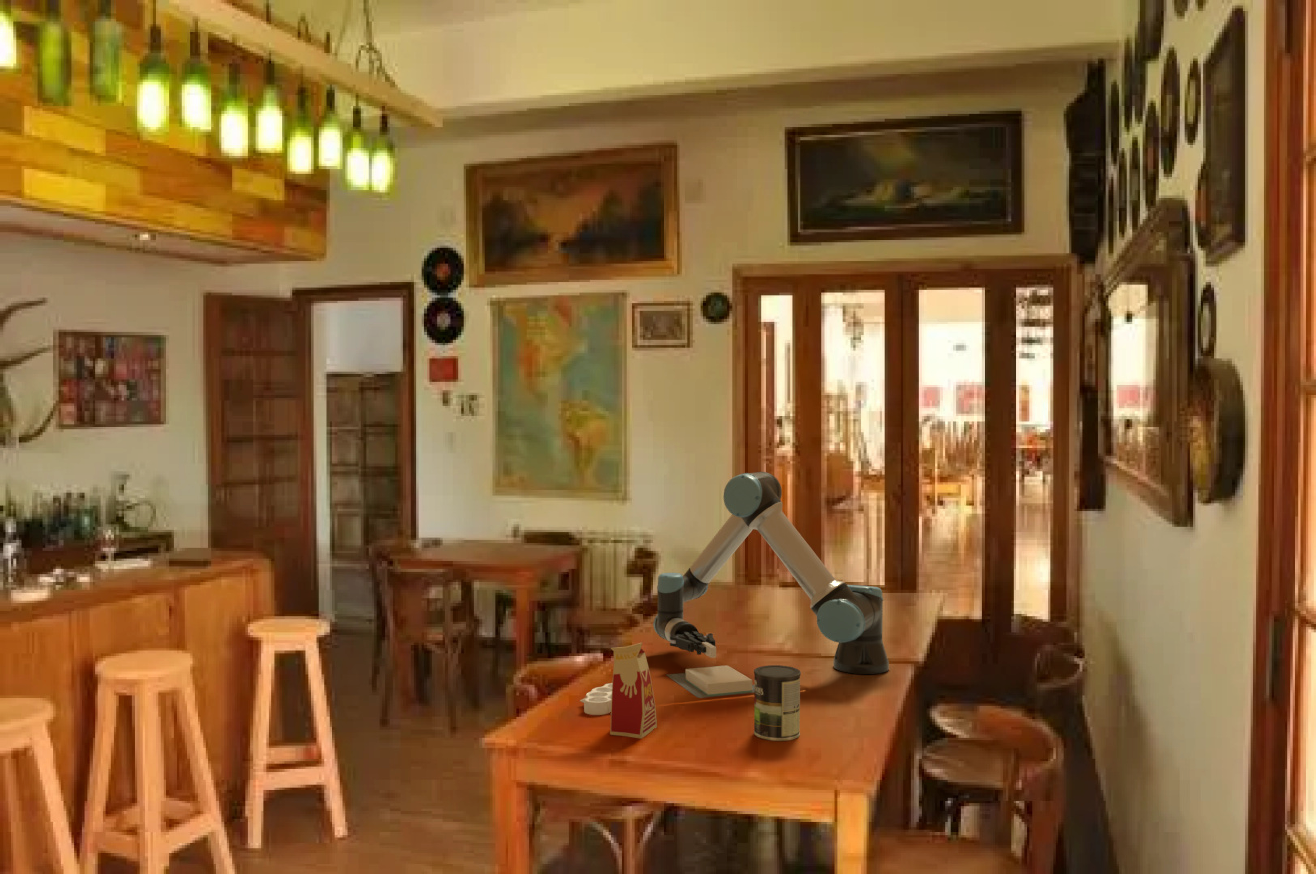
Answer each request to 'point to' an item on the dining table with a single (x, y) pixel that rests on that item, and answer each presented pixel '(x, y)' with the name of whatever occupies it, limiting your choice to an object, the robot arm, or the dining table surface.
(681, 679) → the mat
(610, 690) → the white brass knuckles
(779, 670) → the coffee can
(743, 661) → the dining table surface
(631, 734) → the milk carton
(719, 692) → the tile
